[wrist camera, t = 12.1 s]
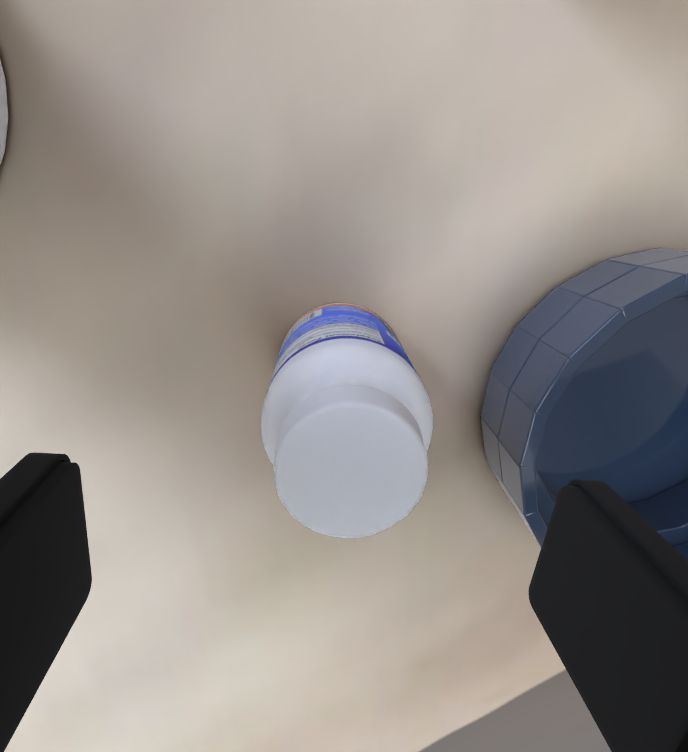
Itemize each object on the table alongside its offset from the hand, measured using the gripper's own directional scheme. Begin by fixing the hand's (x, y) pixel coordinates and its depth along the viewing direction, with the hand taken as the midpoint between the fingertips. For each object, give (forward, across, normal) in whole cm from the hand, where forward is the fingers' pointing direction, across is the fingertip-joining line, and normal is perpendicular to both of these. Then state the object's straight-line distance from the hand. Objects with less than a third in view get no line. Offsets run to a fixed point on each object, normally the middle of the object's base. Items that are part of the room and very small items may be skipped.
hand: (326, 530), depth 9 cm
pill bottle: (+12, -1, +1) cm, 13 cm away
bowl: (+12, -15, +2) cm, 19 cm away
